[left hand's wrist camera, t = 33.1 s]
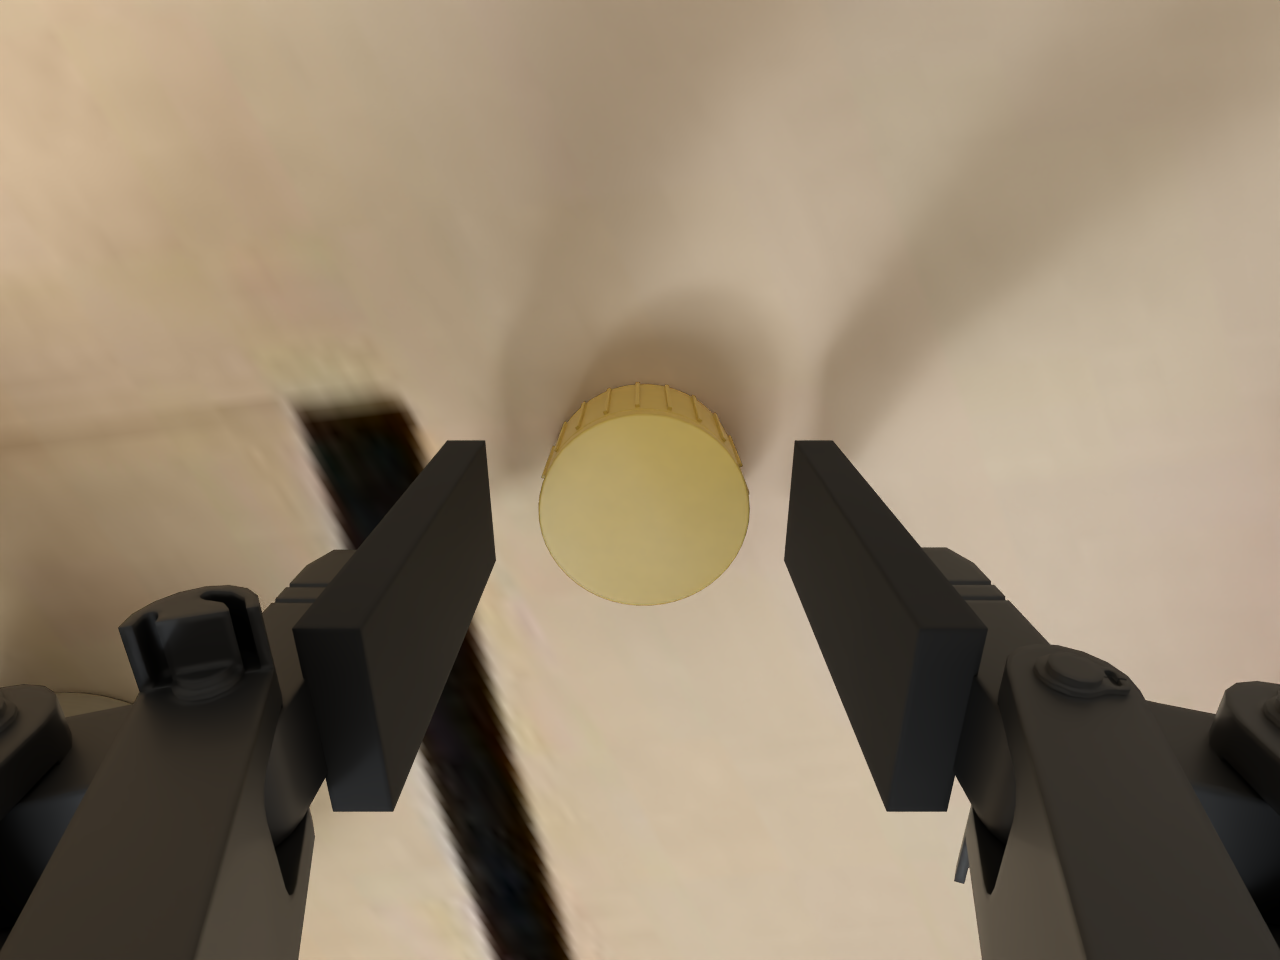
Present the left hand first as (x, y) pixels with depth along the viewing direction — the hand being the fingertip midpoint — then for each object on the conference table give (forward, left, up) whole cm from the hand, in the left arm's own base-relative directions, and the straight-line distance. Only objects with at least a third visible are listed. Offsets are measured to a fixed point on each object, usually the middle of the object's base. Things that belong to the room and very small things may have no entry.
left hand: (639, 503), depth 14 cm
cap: (0, 0, 0) cm, 0 cm away
